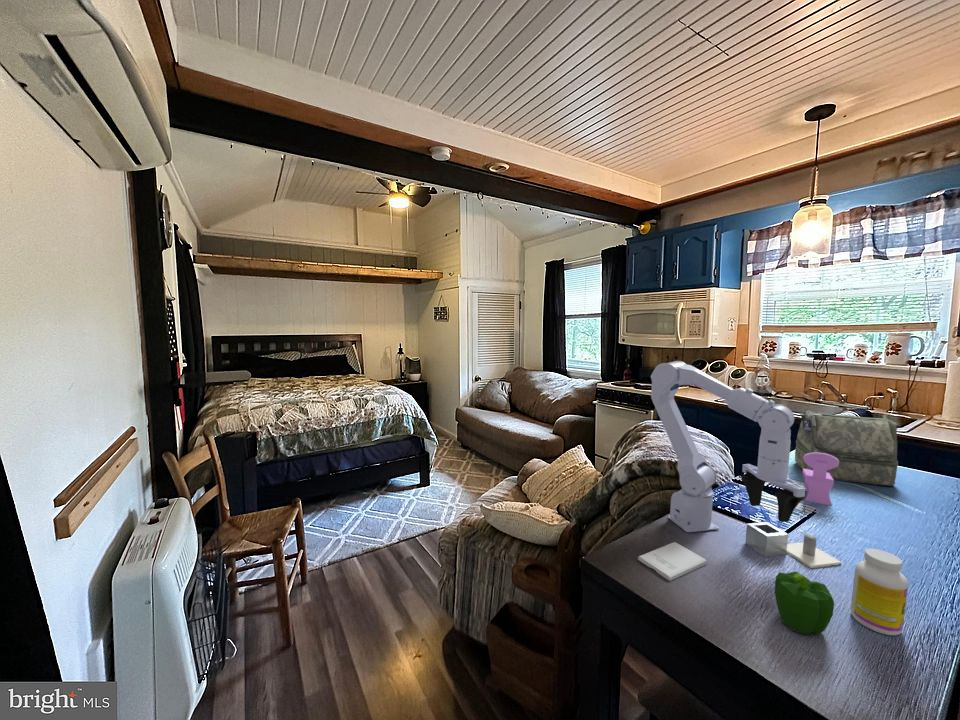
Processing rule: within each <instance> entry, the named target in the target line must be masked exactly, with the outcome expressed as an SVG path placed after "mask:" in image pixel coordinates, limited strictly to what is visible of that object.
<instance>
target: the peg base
mask: <svg viewBox="0 0 960 720" xmlns="http://www.w3.org/2000/svg"><path fill="white" fill-rule="evenodd" d="M817 539H818V538H817V537H816V536H814V535H812V534H808V533H807V534H804V535H803V541H802V542H791V543H787V553H786V554H788V555H790V556H791V557H793V558H794V559H796V560H797V561H798V562H800V563H801V564H804V565H805V566H807V567H808V568H810V569H816V568H823V567H824V568H825V567H832V566H831V565H834V566H840V565H839V564H841V565H842V561H840V560H839V559H837V558H835V557H833V556H832V555H830V554H828V553H826V552H825V551H823V550H821V549H819V548H818V547H817Z"/></svg>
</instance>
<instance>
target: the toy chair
mask: <svg viewBox="0 0 960 720" xmlns="http://www.w3.org/2000/svg"><path fill="white" fill-rule="evenodd" d="M803 460H804V462H805V463H806V464H807V465H808V466H810V467H811V468H813V470H809V469H803V470H802V476H803V478H804V483H803V485H802V487H803V486H804V487H805V488H806V492H805V493H807V495H806V496H805V497H804V501H805V502H806V501H807V502H811V503H816V504H822V505H827V506H833V503H832V501H831V498H830V492H831V490H832V488H833V487H834V483H835V480H834V479H833V478H832V477H831V475H830V473H827V470H830V469H833V468H835V467H837V466H838V465H839V460H838V459H837V458H836V457H834V456H832V455H829V454H826V453H818V452H814V453H807V454H805V455H804V456H803Z"/></svg>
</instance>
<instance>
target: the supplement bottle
mask: <svg viewBox="0 0 960 720" xmlns="http://www.w3.org/2000/svg"><path fill="white" fill-rule="evenodd" d="M863 557H864V560H861V561H859V562H857V563H856V564H855V568H854V577H853V585H852V586H853V587H852V592H851V593H852V594H851V602H850V613H851V615H852V617H853V618H854V619H855V620H856V621H857V622H858V623H859V624H861V625H863V626H864V628H865V627H866V628H868V630H869V629H870V630H871V631H874V632H877V633H880V634H882V635H887V636H898V635H901V634H902V632H903V627H904V621H905V613H906V612H905V611H906V605H907V597H908V595H907V594H908V588H909V581H908V579H907V578H906V576H905V575H904V574H903V573H901V572H900V571H901V570H902V569H903V560H902V559H901V558H900V557H898V556H897V555H894V554H892V553H890V552H887V551H884V550H881V549H877V548H866V549H865V550H864V555H863Z"/></svg>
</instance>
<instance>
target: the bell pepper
mask: <svg viewBox="0 0 960 720" xmlns="http://www.w3.org/2000/svg"><path fill="white" fill-rule="evenodd" d="M774 594H775V595H774V596H775V601H776V606H777V610H778V614H779V616H780V617H781V620H782V622H783V623H784V625H786V626H787V627H788V628H789V629H791V630H793V631H795V632H796V633H799V634H803V635H810V634H811V633H813V634H818V635H819V634H821V633H824V632H825V631H826V629H827V628H828V625H829V623H830V622H831V620H832V617H833V615H834V610H835V609H834V607H835V600H834V599H833V596H832V594H831V592H830V590H829V589H828V587H827V586H826V584H824V583H822V582H819V581H814V580H813V581H811V580H810V579H809V578H808V577H806V576H804V575H803V574H801V573H800V572H798V571H792V572H786V573H785V572H780V571H779V572H778V573H777V575H776V576H775V582H774Z"/></svg>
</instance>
